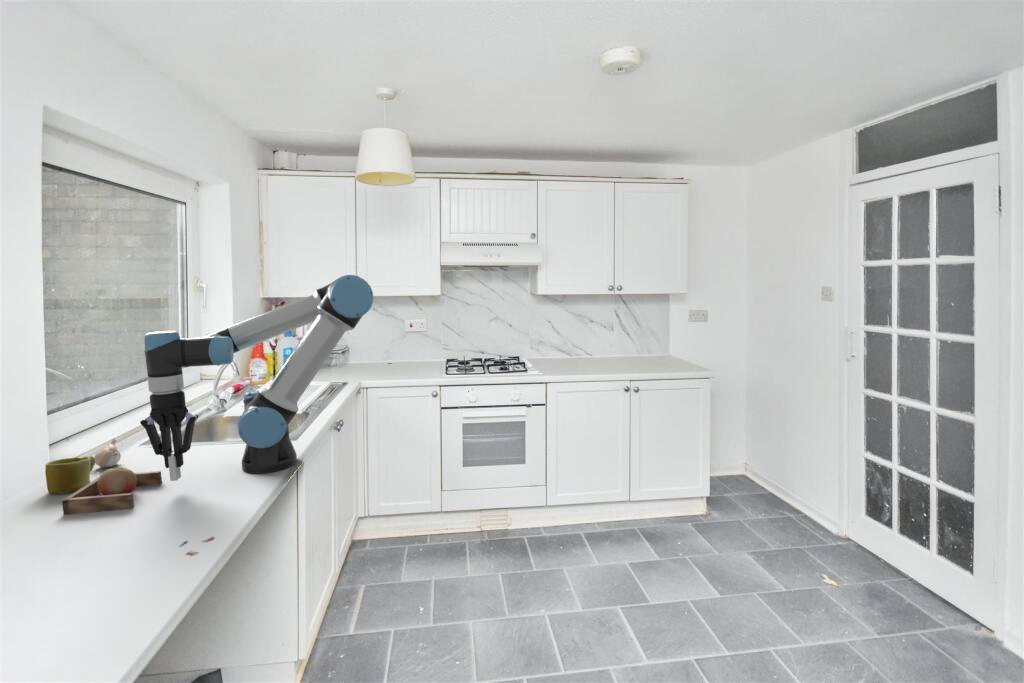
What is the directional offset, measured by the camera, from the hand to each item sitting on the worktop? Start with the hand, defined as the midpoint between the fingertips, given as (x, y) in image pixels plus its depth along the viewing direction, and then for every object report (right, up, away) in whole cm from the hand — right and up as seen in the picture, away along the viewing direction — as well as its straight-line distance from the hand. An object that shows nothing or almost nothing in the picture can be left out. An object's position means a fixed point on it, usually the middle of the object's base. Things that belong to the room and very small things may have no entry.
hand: (175, 478), depth 134 cm
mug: (-31, -4, +5) cm, 31 cm away
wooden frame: (-14, -4, -3) cm, 15 cm away
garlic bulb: (-34, -2, +21) cm, 40 cm away
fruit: (-13, -4, -2) cm, 14 cm away
